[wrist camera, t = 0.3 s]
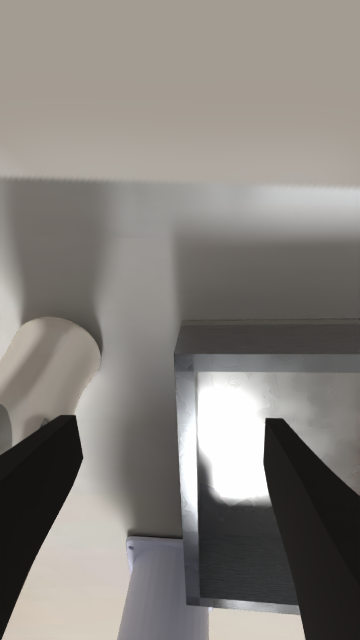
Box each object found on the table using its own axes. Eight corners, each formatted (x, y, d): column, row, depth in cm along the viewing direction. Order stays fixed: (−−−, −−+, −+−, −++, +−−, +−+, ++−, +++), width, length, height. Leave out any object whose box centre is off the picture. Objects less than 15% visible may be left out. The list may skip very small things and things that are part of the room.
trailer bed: (376, 540, 24) (422, 625, 19) (190, 529, 26) (186, 605, 21) (431, 318, 18) (520, 354, 13) (182, 320, 20) (173, 354, 15)
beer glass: (53, 290, 18) (-267, 635, 5) (127, 360, 21) (33, 696, 8) (-11, 343, 20) (-345, 674, 8) (63, 399, 23) (-89, 711, 10)
